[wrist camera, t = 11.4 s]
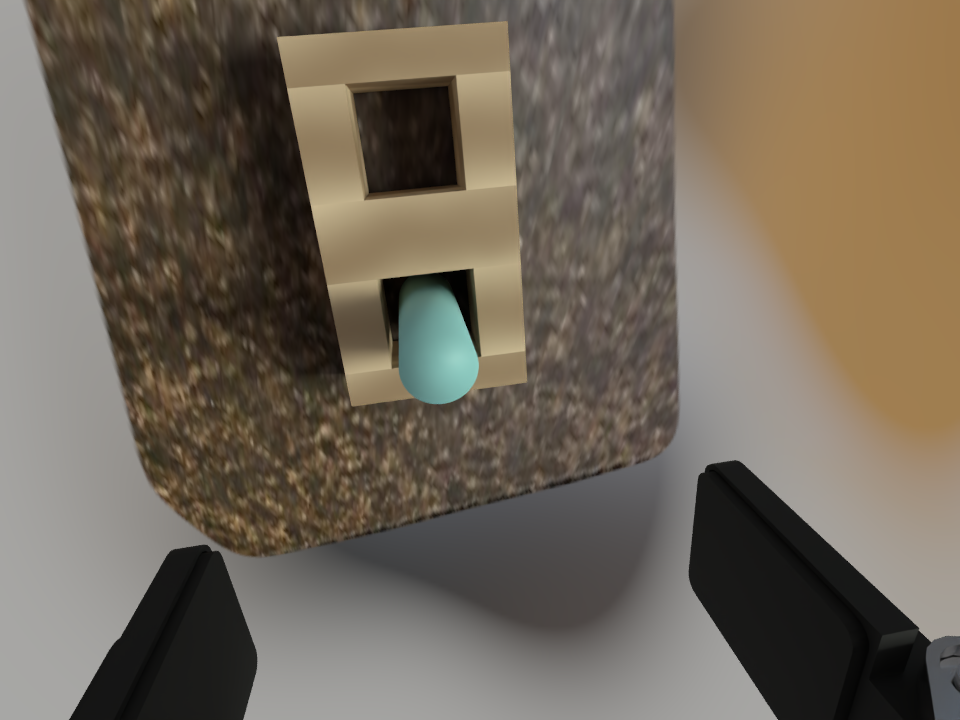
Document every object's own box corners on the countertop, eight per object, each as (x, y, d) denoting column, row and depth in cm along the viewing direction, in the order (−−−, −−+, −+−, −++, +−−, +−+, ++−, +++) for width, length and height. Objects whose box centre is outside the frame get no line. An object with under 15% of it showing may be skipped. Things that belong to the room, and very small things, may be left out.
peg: (394, 274, 28) (393, 335, 19) (450, 267, 28) (475, 325, 19) (403, 326, 29) (404, 409, 20) (456, 320, 29) (482, 398, 20)
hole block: (296, 54, 24) (276, 37, 20) (491, 40, 24) (507, 21, 21) (357, 374, 30) (351, 406, 26) (512, 354, 31) (527, 382, 27)
